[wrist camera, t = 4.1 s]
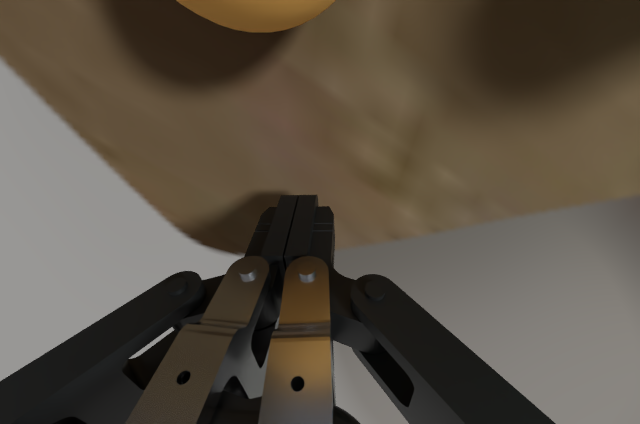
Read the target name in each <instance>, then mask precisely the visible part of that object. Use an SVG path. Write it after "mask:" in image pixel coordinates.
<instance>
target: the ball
mask: <svg viewBox="0 0 640 424" xmlns="http://www.w3.org/2000/svg"><path fill="white" fill-rule="evenodd" d="M176 1H178V2H179V3H180V4H182V5H183V6H185V7H186V8H188V9H190V10H191V11H193V12H194V13H196V14H198V15H200V16H202V17H204V18H206V19H208V20H210V21H212V22H214V23H216V24H219V25H221V26H224V27H228V28H231V29H234V30H239V31H245V32H276V31H282V30H287V29H290V28H293V27H296V26H299V25H301V24H303V23H305V22H307V21H309V20H311V19H313V18H315V17H316V16H317V15H319V14H320V13H322V12H323V11H324V10H326V9H327V8H328V7H329V6H330V5H332V4H333V3H334V2H335V1H336V0H176Z"/></svg>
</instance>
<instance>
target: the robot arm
mask: <svg viewBox="0 0 640 424" xmlns="http://www.w3.org/2000/svg"><path fill="white" fill-rule="evenodd" d="M334 250H335V233H334V214H333V212H332V211H331V209H330V207H329V206H327V207H318V197H317V195H282V196H281V197H280V200H279V203H278V206H277V207H269V208H268V209H267V210H266V211H265V212H264V213H263V214H262V215H261V217H260V220H259V222H258V225H257V227H256V230H255V232H254V234H253V237H252V239H251V242H250V244H249V247H248V249H247V252H246V254H245V257H244V258H241V259H239V260H237V261H236V262H235V263H233V264H232V265H231V266H230V268H229V269H228V271H227V273H226V274H225V275H222V276H218V277H214V278H210V279H207V280H201V278H200V276H199V275H198V274H197V273H195V272H192V271H183V272H179V273H176V274H174V275H172V276H170V277H168V278H166V279H165V280H163V281H162V282H160V283H159V284H157V285H155V286H153V287H152V288H150V289H149V290H147V291H146V292H144V293H142V294H141V295H139V296H137V297H136V298H134V299H133V300H131V301H129V302H128V303H126V304H124V305H123V306H121V307H120V308H118V309H117V310H115V311H113V312H112V313H110V314H108V315H107V316H105V317H103V318H102V319H100V320H99V321H97V322H95V323H94V324H92V325H91V326H89V327H87V328H86V329H84V330H82V331H81V332H79V333H78V334H76V335H74V336H73V337H71V338H70V339H68V340H66V341H65V342H64V343H61V344H60V345H58V346H57V347H55V348H53V349H52V350H50V351H49V352H47V353H45V354H44V355H42V356H41V357H39V358H38V359H36V360H34V361H32V362H31V363H29V364H28V365H26V366H24V367H23V368H21V369H20V370H18V371H16V372H15V373H13V374H11V375H10V376H8V377H7V378H5V379H3V380H2V381H0V424H360V423H359V422H358V421H357V420H356V419H355V418H354V417H353V416H351V415H350V414H349V413H347V412H346V411H344V410H343V409H341V408H339V407H337V406H336V396H335V379H334V378H335V377H334V353H333V340H334V341H337V342H339V343H342V344H344V345H347V346H349V347H352V349H353V352H354V353H355V354H356V356H357V357H358V358H359V360H360V361H361V362H362V363H363V365H364V366H365V367H366V369H367V370H368V371H369V372H370V374H371V375H372V376H373V378H374V379H375V380H376V381H377V383H378V384H379V385H380V386H381V388H382V389H383V390H384V392H385V393H386V394H387V395H388V397H389V398H390V399H391V401H392V402H393V403H394V404H395V406H396V407H397V408H398V410H399V411H400V412H401V413H402V415H403V416H404V417H405V419H406V420H407V421H408V423H409V424H555V423H554V422H553V421H552V420H551V419H549V417H547V416H546V415H545V414H544V413H543V412H541V410H539V409H538V408H537V407H536V406H535V405H534V404H532V403H531V402H530V401H529V400H528V399H527V398H526V397H524V396H523V395H522V394H521V393H520V392H519V391H517V390H516V389H515V388H514V387H513V386H512V385H511V384H509V383H508V382H507V381H506V380H505V379H504V378H503V377H501V376H500V375H499V374H498V373H497V372H496V371H495V370H493V369H492V368H491V367H490V366H489V365H488V364H486V363H485V362H484V361H483V360H482V359H481V358H479V357H478V356H477V355H476V354H475V353H474V352H473V351H472V350H470V349H469V348H468V347H467V346H466V345H465V344H463V343H462V342H461V341H460V340H459V339H458V338H457V337H455V336H454V335H453V334H452V333H451V332H450V331H449V330H447V329H446V328H445V327H444V326H443V325H441V324H440V323H439V322H438V321H437V320H436V319H434V317H432V316H431V315H430V314H429V313H428V312H427V311H425V310H424V309H423V308H422V307H421V306H420V305H419V304H417V303H416V302H415V301H414V300H413V299H412V298H410V297H409V296H408V295H407V294H406V293H405V292H404V291H402V290H401V289H400V288H399V287H398V286H397V285H396V284H394V283H393V282H392V281H391V280H390V279H388V278H386V277H384V276H381V275H376V274H369V275H364V276H362V277H360V278H358V279H357V280H353V279H350V278H347V277H344V276H342V275H341V274H339V273H338V272H337V271H336V270H335V269H334ZM171 327H173V328H174V331H172V332H171V333H170V334H168V335H167V336H166V337H164V338H163V339H162V340H161V341H159V342H158V343H156V344H155V345H154V346H152V347H151V348H149V349H148V350H147V351H145V352H144V353H143V354H141V355H140V356H138V357H136V358H133V359H129V358H130V357H131V356H132V355H134V354H135V353H136V352H138V351H139V350H141V349H142V348H143V347H145V346H146V345H147V344H149V343H150V342H151V341H153V340H154V339H156V338H157V337H158V336H160V335H161V334H162V333H164V332H165V331H167V330H168V329H169V328H171Z"/></svg>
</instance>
